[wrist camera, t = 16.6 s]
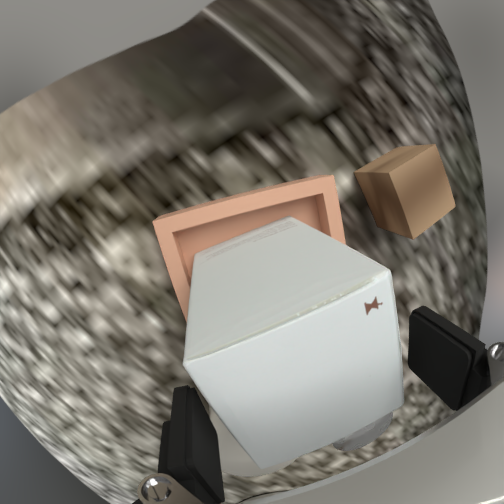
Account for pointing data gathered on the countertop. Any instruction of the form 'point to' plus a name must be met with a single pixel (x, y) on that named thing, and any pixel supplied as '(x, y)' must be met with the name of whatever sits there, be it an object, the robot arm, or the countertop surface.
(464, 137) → the countertop surface
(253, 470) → the white rounded lump
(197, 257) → the supplement box
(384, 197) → the walnut block
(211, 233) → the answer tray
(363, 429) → the grey tin
